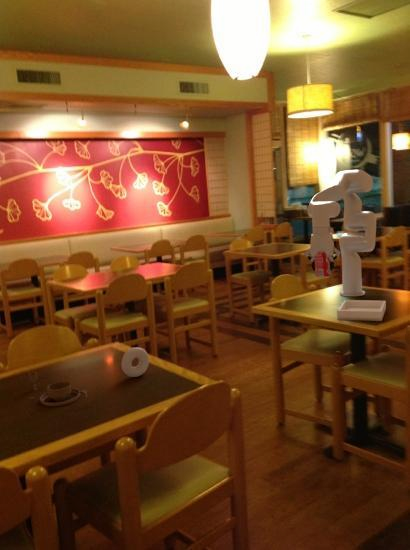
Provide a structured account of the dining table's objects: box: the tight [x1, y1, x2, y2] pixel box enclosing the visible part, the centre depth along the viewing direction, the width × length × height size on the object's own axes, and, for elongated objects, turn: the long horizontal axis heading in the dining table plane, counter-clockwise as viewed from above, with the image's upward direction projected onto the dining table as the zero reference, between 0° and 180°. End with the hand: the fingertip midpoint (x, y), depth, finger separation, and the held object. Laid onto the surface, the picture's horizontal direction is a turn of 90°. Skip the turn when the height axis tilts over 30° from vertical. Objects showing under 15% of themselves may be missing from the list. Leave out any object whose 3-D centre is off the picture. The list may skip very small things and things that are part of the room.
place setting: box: [28, 372, 89, 407], centre depth 166 cm, size 18×20×6 cm
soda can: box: [314, 251, 332, 279], centre depth 239 cm, size 7×7×12 cm
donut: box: [121, 346, 150, 378], centre depth 176 cm, size 10×4×10 cm, turn 127°
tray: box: [336, 299, 387, 322], centre depth 233 cm, size 20×18×4 cm
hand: (323, 269), depth 240 cm, fingers closed on soda can, 7 cm apart
